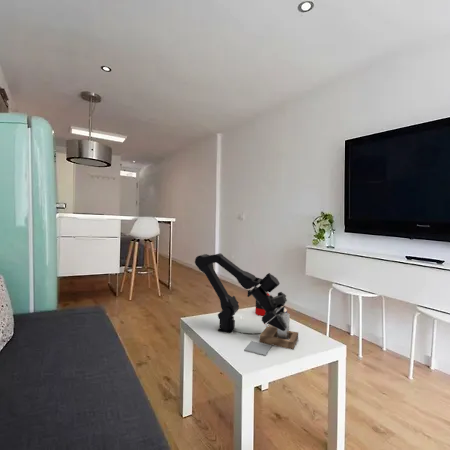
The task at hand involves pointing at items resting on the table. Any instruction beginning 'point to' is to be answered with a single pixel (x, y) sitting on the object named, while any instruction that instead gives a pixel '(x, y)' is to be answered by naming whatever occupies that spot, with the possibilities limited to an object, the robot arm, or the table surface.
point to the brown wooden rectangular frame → (271, 338)
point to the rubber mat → (258, 348)
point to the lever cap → (284, 320)
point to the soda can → (260, 308)
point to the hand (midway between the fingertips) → (286, 327)
